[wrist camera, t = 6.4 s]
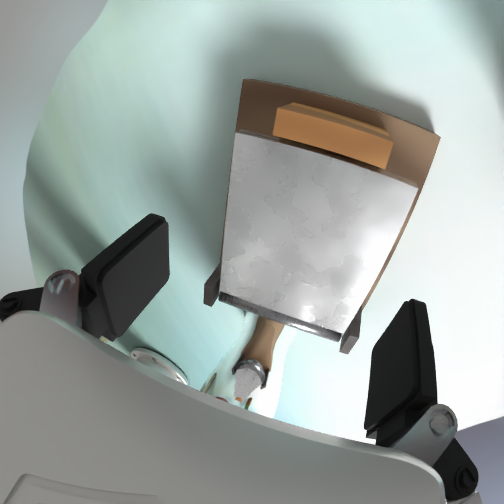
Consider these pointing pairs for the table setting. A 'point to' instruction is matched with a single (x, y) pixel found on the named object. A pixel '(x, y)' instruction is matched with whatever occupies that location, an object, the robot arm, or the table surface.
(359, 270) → the grey marble tile
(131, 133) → the table surface
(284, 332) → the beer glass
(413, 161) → the plate
